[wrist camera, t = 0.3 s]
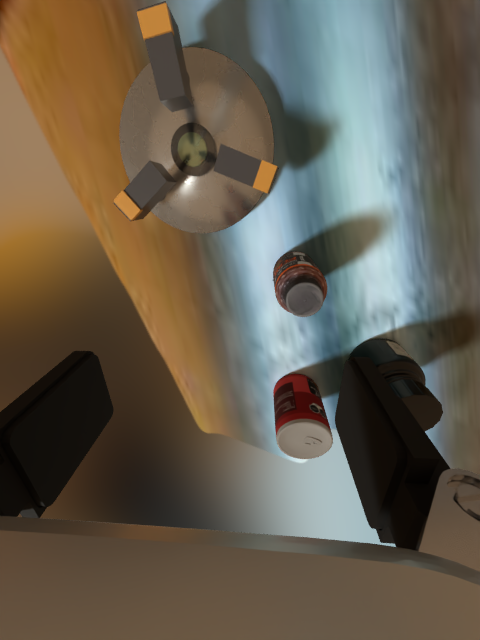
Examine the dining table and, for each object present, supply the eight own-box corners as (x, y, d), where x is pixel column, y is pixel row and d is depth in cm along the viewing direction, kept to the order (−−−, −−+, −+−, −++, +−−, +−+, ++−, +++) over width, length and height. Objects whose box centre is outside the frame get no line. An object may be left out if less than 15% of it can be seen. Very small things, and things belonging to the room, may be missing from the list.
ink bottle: (405, 377, 44) (452, 436, 33) (352, 388, 46) (380, 447, 35) (400, 328, 40) (452, 377, 29) (342, 342, 42) (370, 394, 31)
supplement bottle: (288, 241, 36) (299, 260, 26) (323, 264, 37) (347, 291, 27) (264, 277, 38) (266, 308, 28) (297, 298, 39) (310, 334, 29)
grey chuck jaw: (198, 112, 28) (185, 94, 23) (176, 117, 29) (158, 100, 23) (184, 37, 26) (165, -1, 21) (160, 44, 26) (135, 8, 21)
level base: (125, 41, 28) (106, 19, 24) (290, 73, 28) (294, 56, 25) (128, 217, 36) (114, 220, 32) (256, 242, 36) (256, 247, 33)
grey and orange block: (167, 165, 31) (148, 159, 26) (182, 183, 31) (166, 181, 26) (135, 201, 33) (111, 202, 28) (149, 217, 33) (129, 221, 28)
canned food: (317, 405, 48) (332, 459, 38) (274, 406, 49) (277, 459, 39) (318, 371, 45) (335, 421, 35) (272, 373, 46) (275, 422, 36)
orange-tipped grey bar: (220, 174, 31) (212, 171, 26) (227, 151, 30) (220, 142, 25) (267, 194, 31) (269, 194, 26) (276, 171, 30) (279, 167, 25)
